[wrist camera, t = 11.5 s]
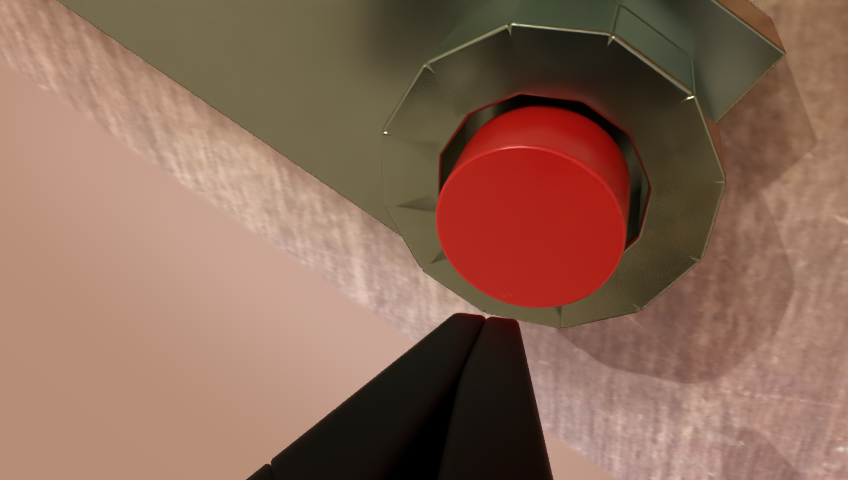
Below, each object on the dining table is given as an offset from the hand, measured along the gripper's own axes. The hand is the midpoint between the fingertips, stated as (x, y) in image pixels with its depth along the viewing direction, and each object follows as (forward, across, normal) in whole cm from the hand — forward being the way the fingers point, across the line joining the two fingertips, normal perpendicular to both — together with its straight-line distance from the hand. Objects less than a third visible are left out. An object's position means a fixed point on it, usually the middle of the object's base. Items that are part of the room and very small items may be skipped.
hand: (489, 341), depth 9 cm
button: (+5, 0, 0) cm, 5 cm away
